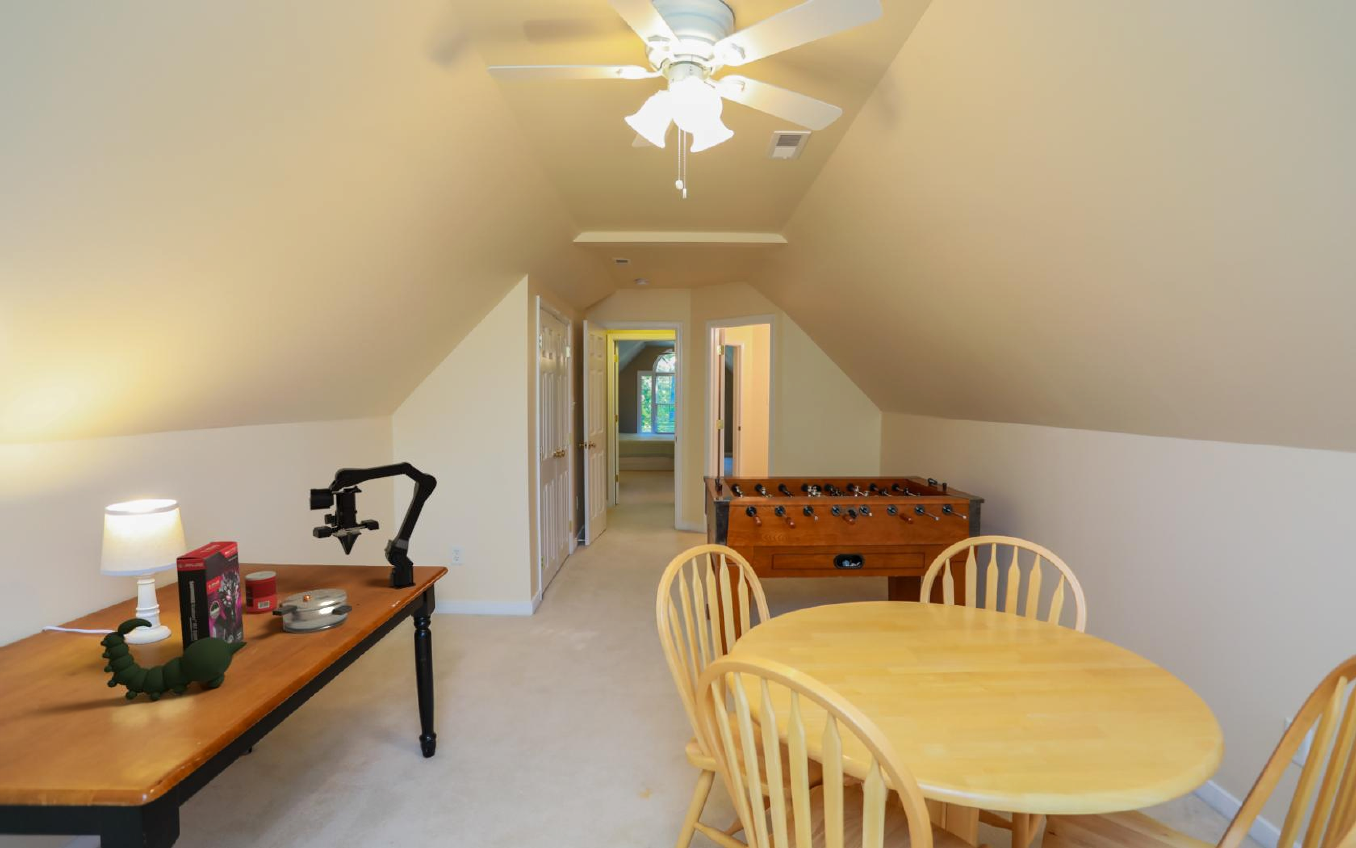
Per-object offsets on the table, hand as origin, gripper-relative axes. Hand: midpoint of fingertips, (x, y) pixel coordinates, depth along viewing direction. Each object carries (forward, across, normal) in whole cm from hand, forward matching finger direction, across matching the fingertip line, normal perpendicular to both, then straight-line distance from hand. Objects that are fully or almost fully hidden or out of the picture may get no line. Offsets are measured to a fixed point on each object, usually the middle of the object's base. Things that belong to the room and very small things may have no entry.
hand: (347, 554), depth 212 cm
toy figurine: (+13, +52, +46) cm, 71 cm away
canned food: (+13, +24, -3) cm, 28 cm away
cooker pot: (+13, +17, +21) cm, 30 cm away
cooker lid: (+7, +19, +22) cm, 30 cm away
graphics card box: (+13, +42, +27) cm, 52 cm away
